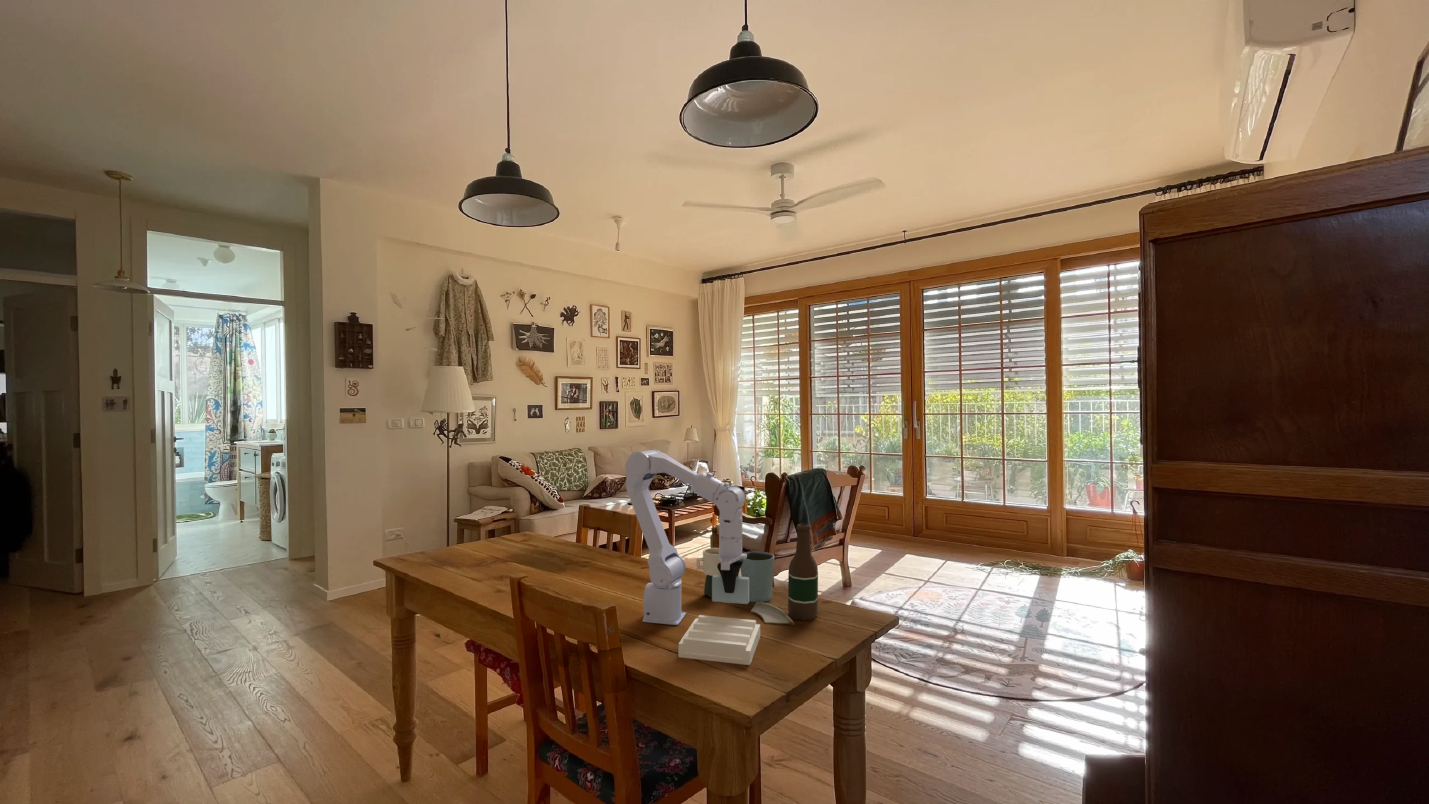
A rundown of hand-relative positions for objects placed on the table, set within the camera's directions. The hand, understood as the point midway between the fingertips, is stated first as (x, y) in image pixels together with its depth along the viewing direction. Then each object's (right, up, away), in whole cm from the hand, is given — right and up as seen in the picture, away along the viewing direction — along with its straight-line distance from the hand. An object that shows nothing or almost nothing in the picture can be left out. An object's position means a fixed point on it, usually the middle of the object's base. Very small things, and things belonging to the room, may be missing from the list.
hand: (730, 590), depth 142 cm
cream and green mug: (-4, -10, +24) cm, 26 cm away
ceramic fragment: (+11, -10, +7) cm, 17 cm away
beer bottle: (+19, -10, +9) cm, 24 cm away
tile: (0, -3, 0) cm, 3 cm away
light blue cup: (+8, -10, +23) cm, 26 cm away
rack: (-2, -9, -10) cm, 14 cm away
